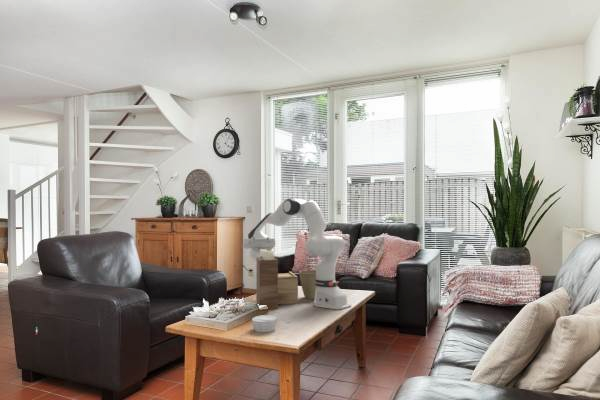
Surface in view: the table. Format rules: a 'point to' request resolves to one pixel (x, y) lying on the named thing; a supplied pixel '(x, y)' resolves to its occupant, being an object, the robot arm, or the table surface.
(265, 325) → the ramekin
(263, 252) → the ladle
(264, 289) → the stand
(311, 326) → the table surface
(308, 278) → the plant pot
